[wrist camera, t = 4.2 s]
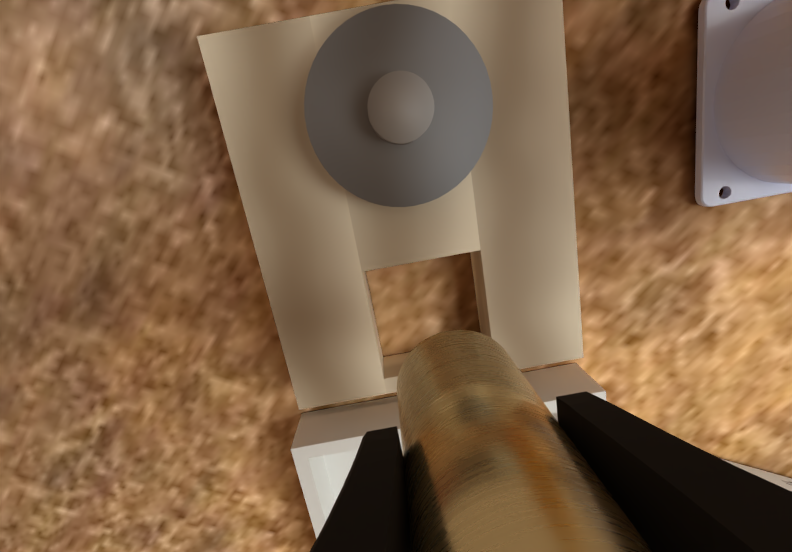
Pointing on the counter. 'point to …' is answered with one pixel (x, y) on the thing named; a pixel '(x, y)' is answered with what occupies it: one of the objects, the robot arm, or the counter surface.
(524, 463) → the lock pin
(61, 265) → the counter surface
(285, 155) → the tensioner bracket
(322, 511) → the tray
